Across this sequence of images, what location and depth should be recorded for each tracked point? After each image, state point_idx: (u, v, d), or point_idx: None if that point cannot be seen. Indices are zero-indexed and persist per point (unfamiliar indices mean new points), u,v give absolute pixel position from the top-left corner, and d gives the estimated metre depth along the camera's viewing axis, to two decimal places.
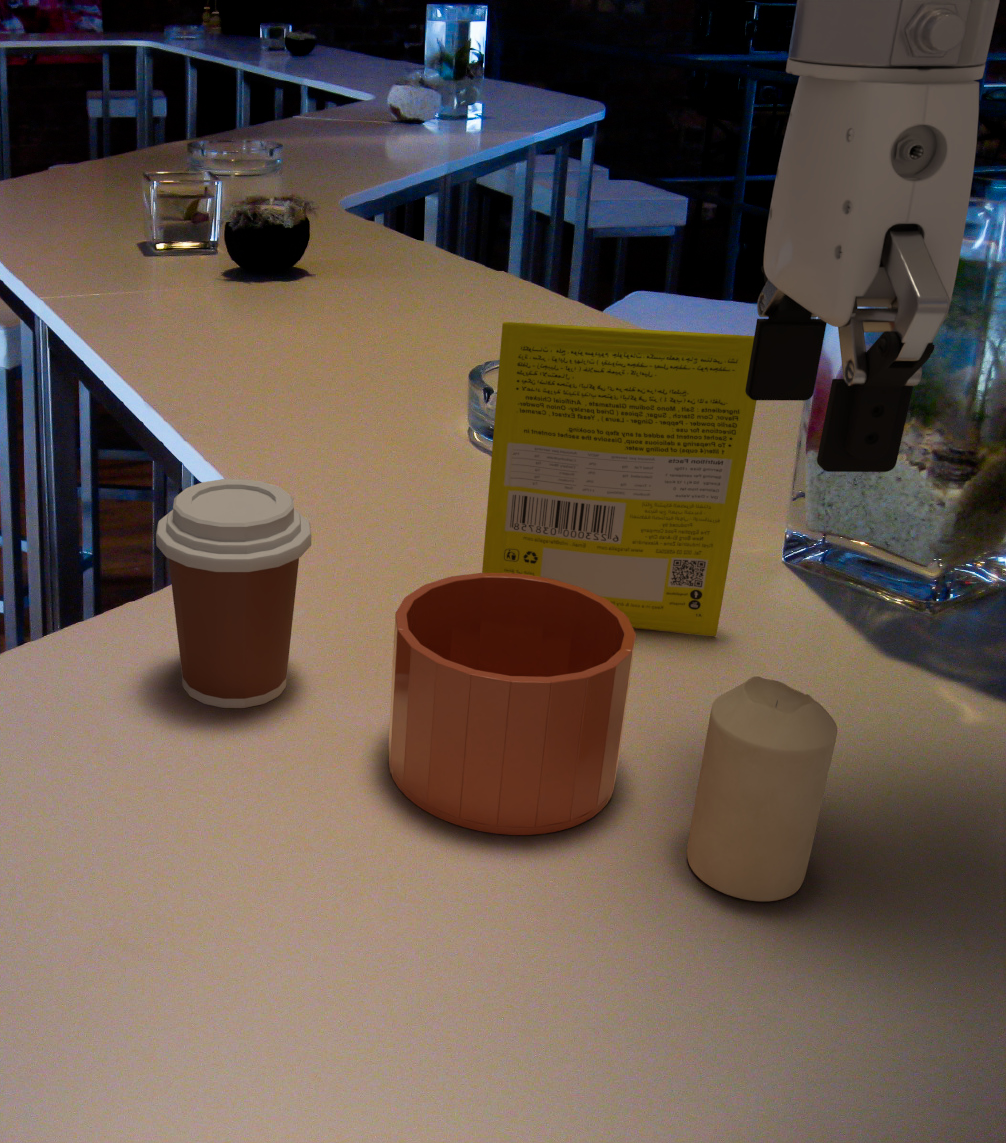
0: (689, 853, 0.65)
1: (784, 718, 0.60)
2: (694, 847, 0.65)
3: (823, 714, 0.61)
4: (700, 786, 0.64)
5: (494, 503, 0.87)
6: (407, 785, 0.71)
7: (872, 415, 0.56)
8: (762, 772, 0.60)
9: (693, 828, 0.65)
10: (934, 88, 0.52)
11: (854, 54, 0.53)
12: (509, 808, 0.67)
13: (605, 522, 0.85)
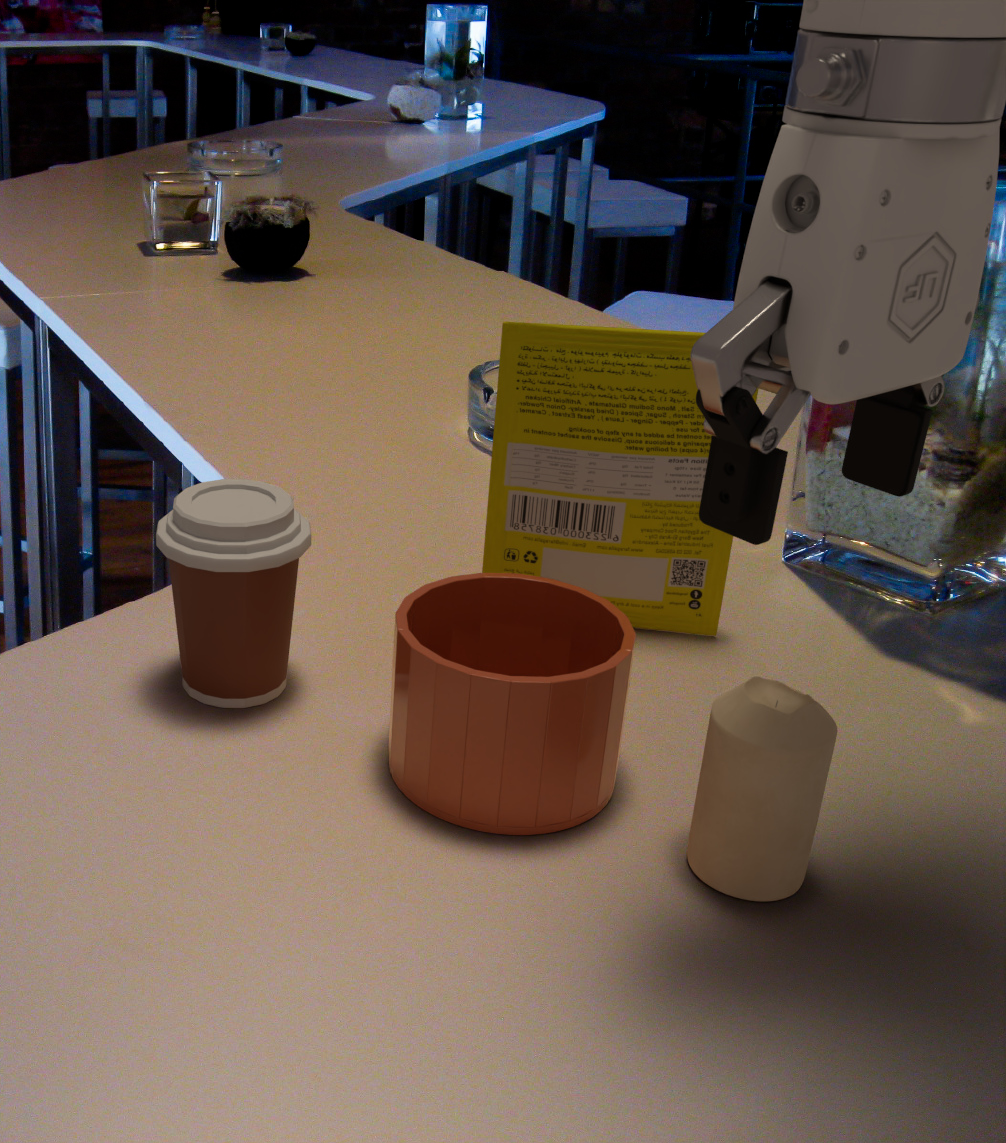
0: (689, 853, 0.65)
1: (784, 718, 0.60)
2: (694, 847, 0.65)
3: (823, 714, 0.61)
4: (700, 786, 0.64)
5: (494, 502, 0.87)
6: (407, 785, 0.71)
7: (726, 472, 0.53)
8: (762, 772, 0.60)
9: (693, 828, 0.65)
10: (819, 138, 0.48)
11: (790, 96, 0.51)
12: (509, 808, 0.67)
13: (605, 522, 0.85)
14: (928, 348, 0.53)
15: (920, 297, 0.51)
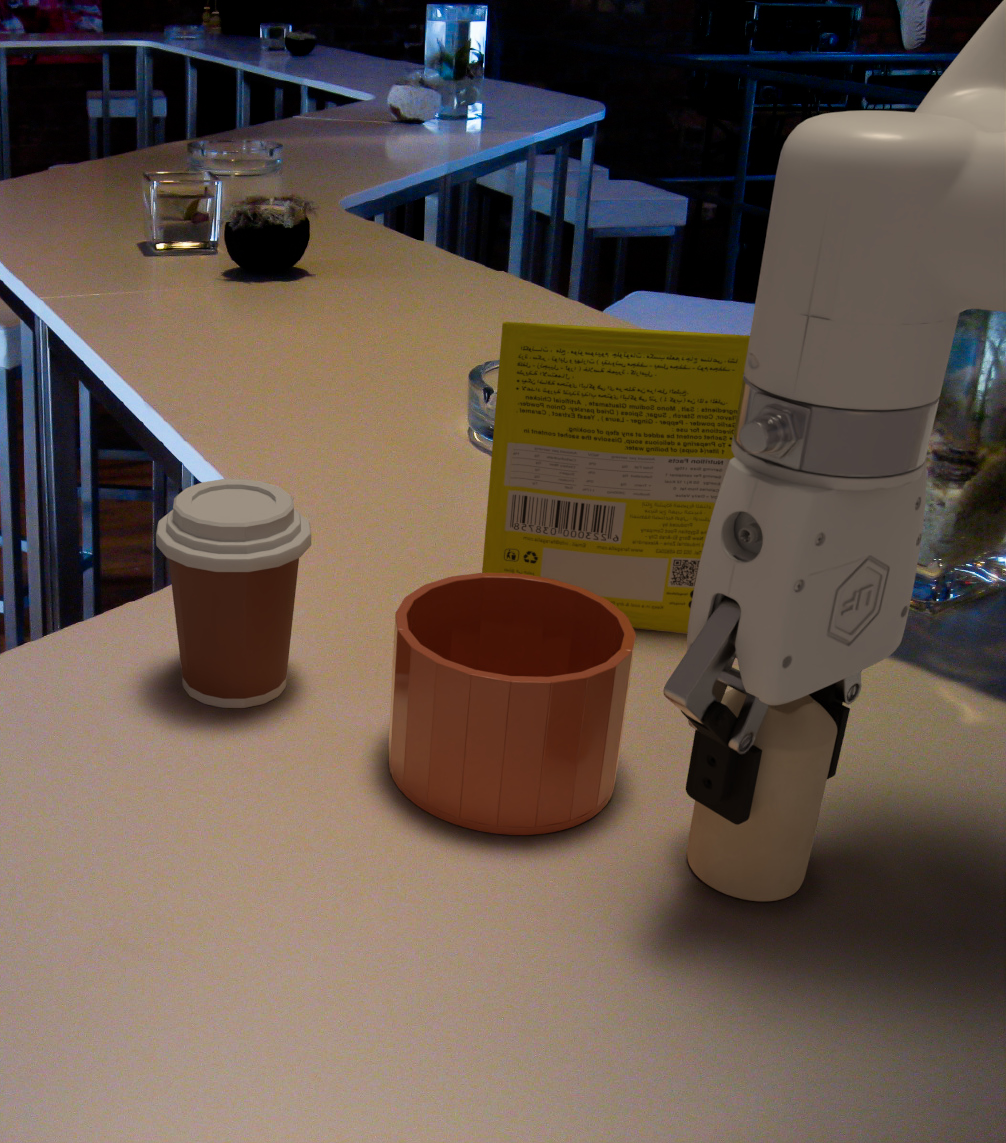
0: (689, 853, 0.65)
1: (784, 718, 0.60)
2: (693, 847, 0.65)
3: (823, 714, 0.61)
4: None
5: (494, 503, 0.87)
6: (407, 785, 0.71)
7: (708, 762, 0.60)
8: (762, 772, 0.60)
9: (693, 828, 0.65)
10: (761, 484, 0.54)
11: (736, 432, 0.56)
12: (509, 808, 0.67)
13: (605, 522, 0.85)
14: (867, 645, 0.58)
15: (857, 608, 0.57)
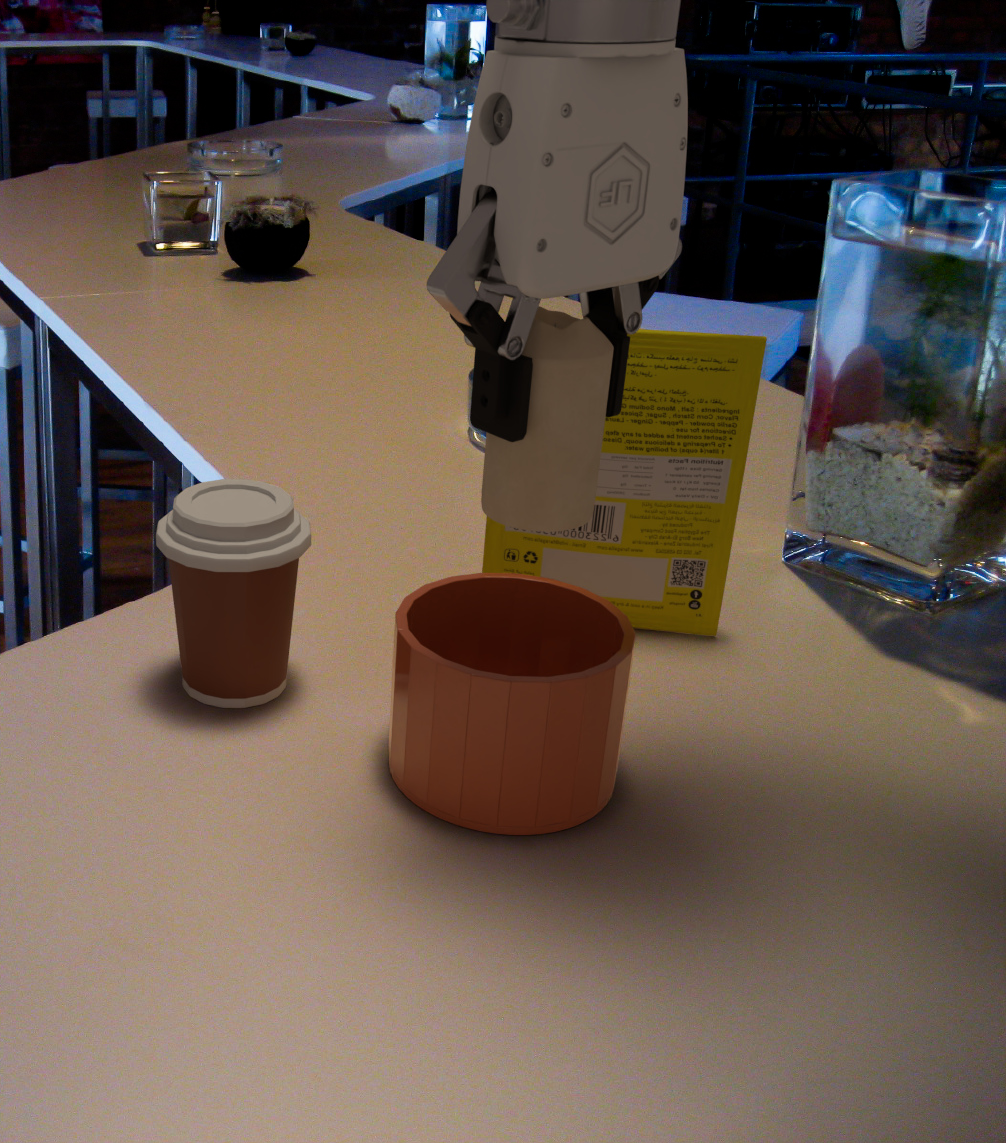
0: (481, 497, 0.66)
1: (557, 332, 0.61)
2: (484, 487, 0.66)
3: (598, 332, 0.61)
4: None
5: None
6: (407, 785, 0.71)
7: (484, 379, 0.61)
8: (536, 386, 0.61)
9: (483, 469, 0.66)
10: (510, 59, 0.55)
11: (496, 25, 0.57)
12: (509, 808, 0.67)
13: (605, 522, 0.85)
14: (633, 250, 0.59)
15: (617, 202, 0.58)
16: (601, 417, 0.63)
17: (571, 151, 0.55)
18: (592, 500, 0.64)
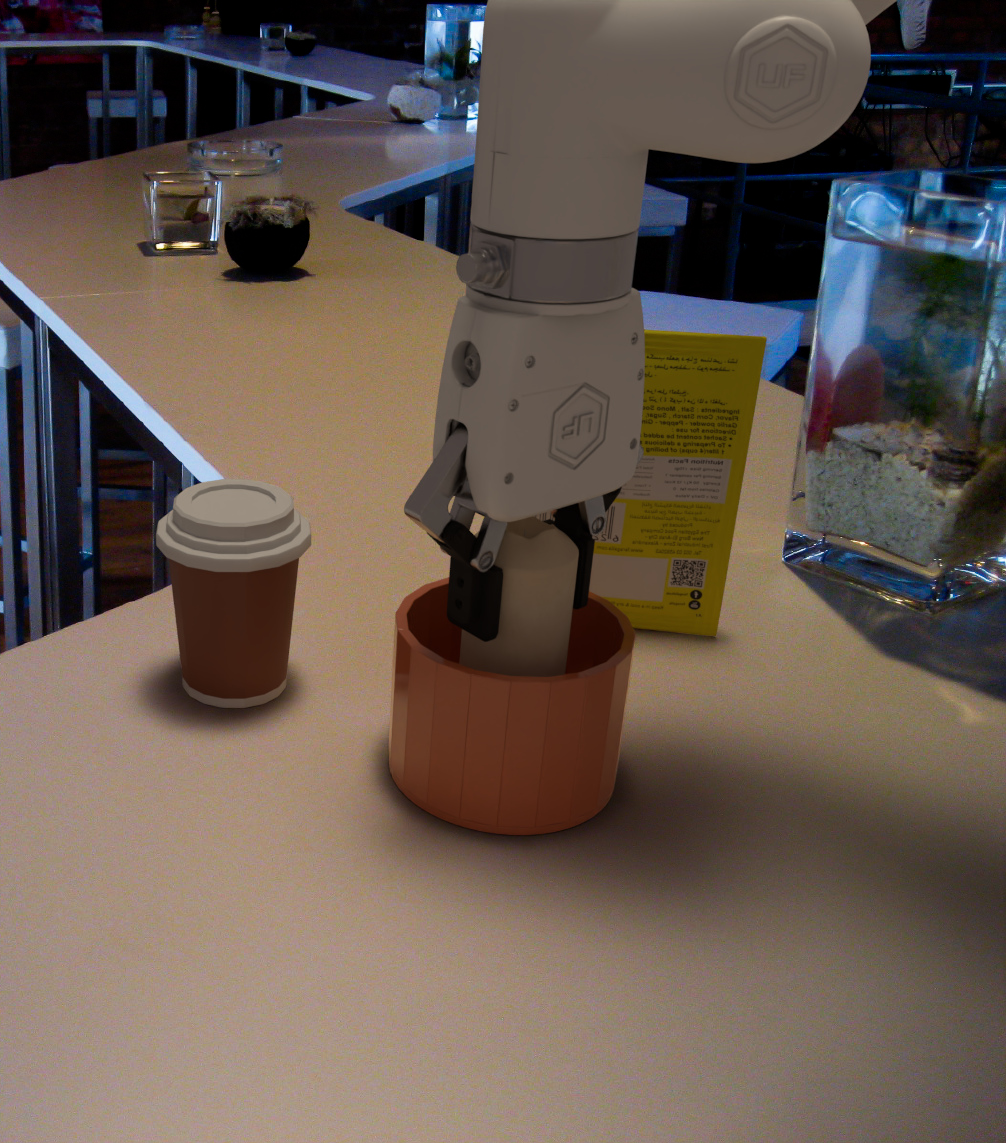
0: None
1: (526, 542, 0.66)
2: None
3: (564, 540, 0.66)
4: None
5: None
6: (407, 785, 0.71)
7: (458, 584, 0.66)
8: (506, 592, 0.66)
9: (460, 655, 0.71)
10: (478, 313, 0.60)
11: None
12: (509, 808, 0.67)
13: None
14: (595, 471, 0.64)
15: (579, 433, 0.63)
16: (567, 615, 0.68)
17: (535, 396, 0.60)
18: None
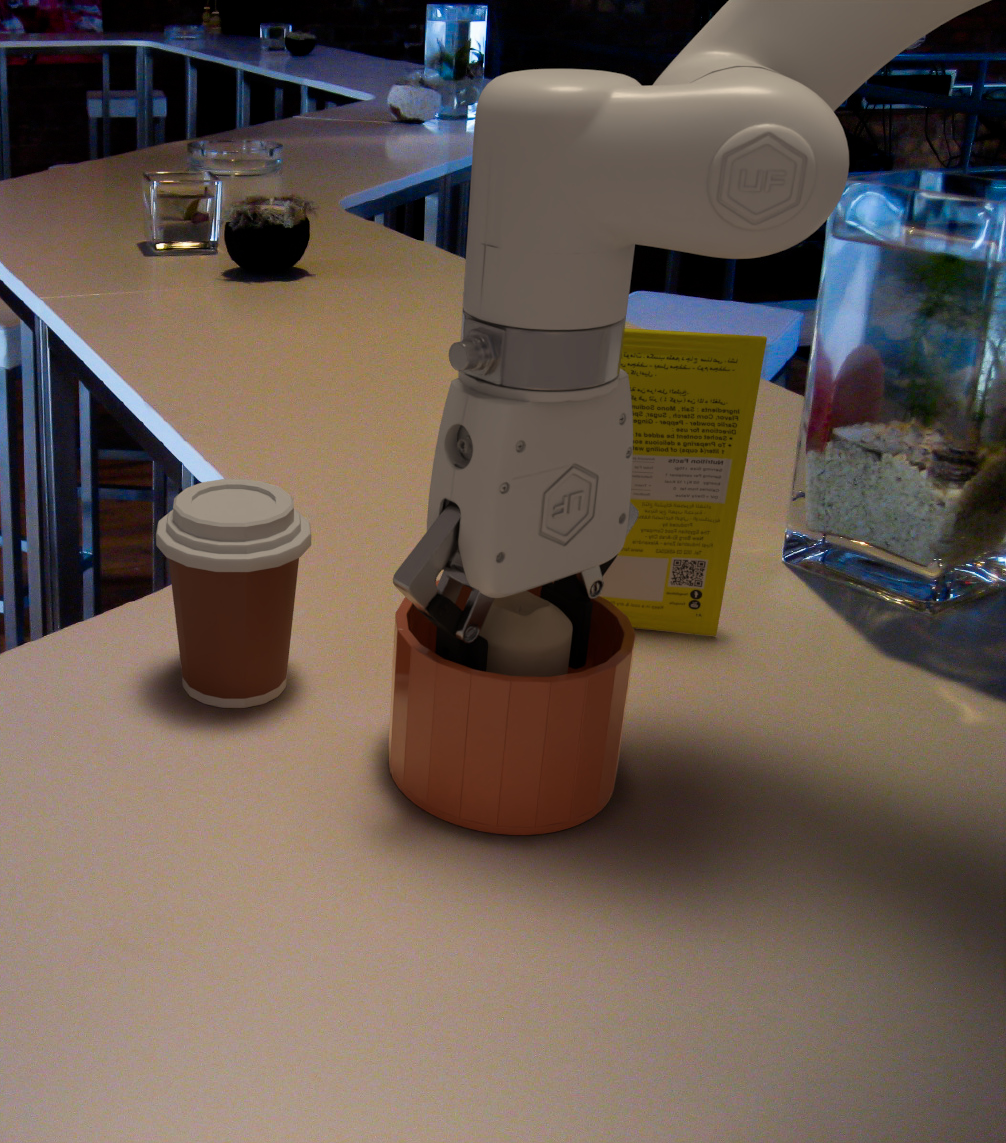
0: None
1: (521, 620, 0.68)
2: None
3: (558, 617, 0.68)
4: None
5: None
6: (407, 785, 0.71)
7: (444, 654, 0.68)
8: (502, 668, 0.68)
9: None
10: (470, 398, 0.61)
11: None
12: (509, 808, 0.67)
13: None
14: (584, 546, 0.66)
15: (568, 511, 0.64)
16: None
17: (526, 478, 0.62)
18: None
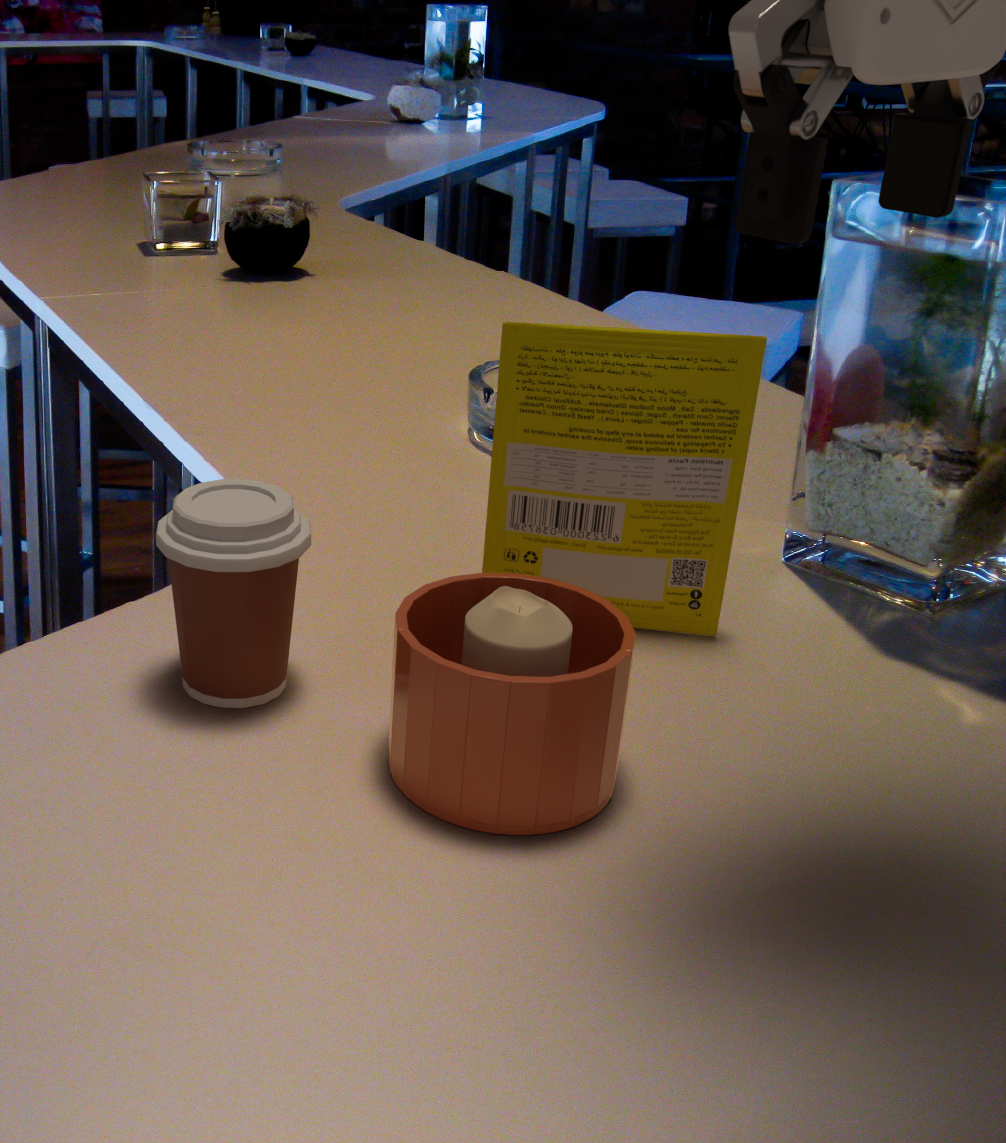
0: None
1: (521, 620, 0.68)
2: None
3: (558, 617, 0.68)
4: None
5: (494, 503, 0.87)
6: (407, 785, 0.71)
7: (764, 168, 0.52)
8: (502, 668, 0.68)
9: None
10: None
11: None
12: (509, 808, 0.67)
13: (605, 522, 0.85)
14: (970, 34, 0.52)
15: None
16: None
17: None
18: None
